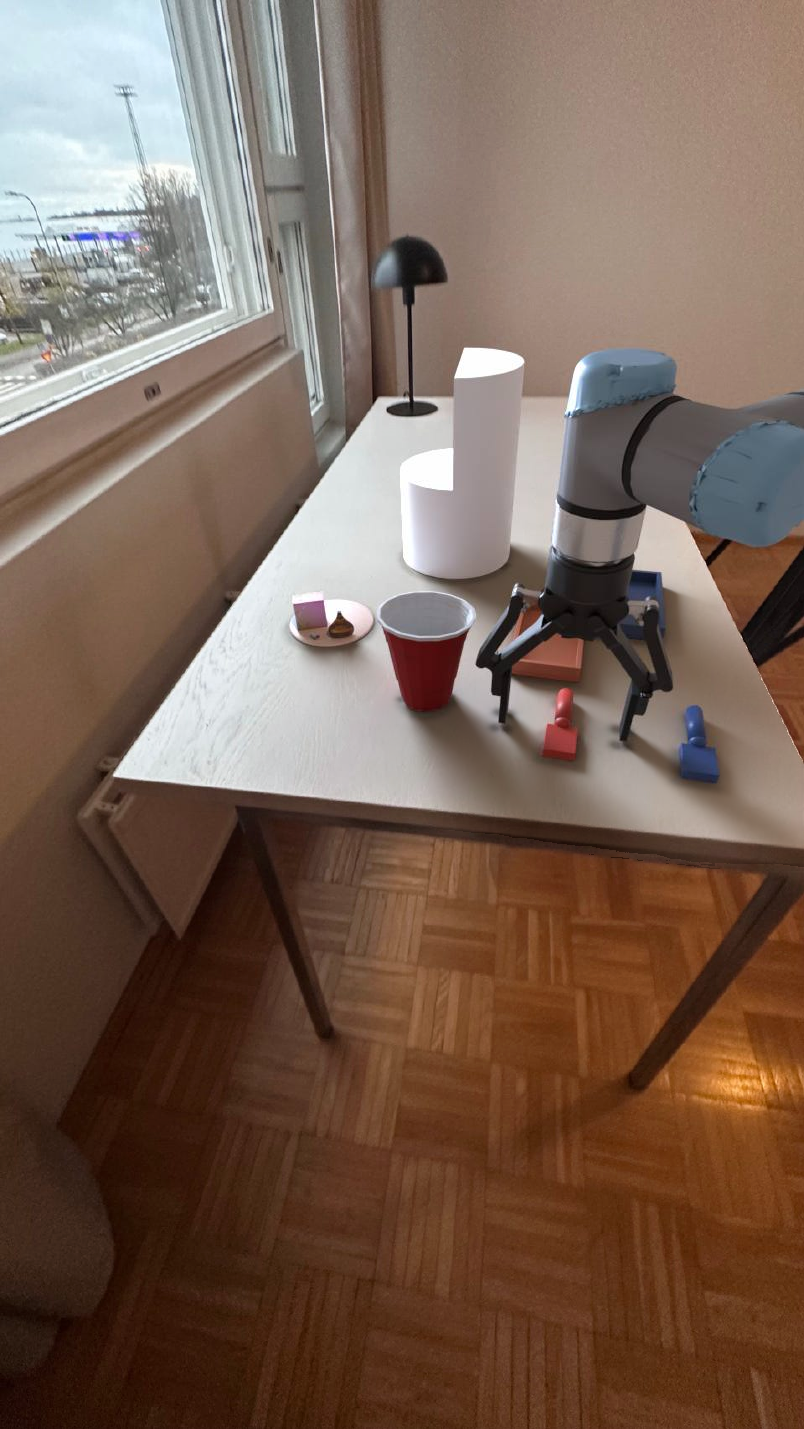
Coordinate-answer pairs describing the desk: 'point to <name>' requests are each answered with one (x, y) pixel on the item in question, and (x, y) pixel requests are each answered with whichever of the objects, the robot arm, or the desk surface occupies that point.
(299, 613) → the round pink plate
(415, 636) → the plastic cup
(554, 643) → the terracotta tray
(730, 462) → the robot arm
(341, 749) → the desk surface
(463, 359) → the cylinder
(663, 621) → the blue tray
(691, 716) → the blue stamp
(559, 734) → the red rubber stamp
